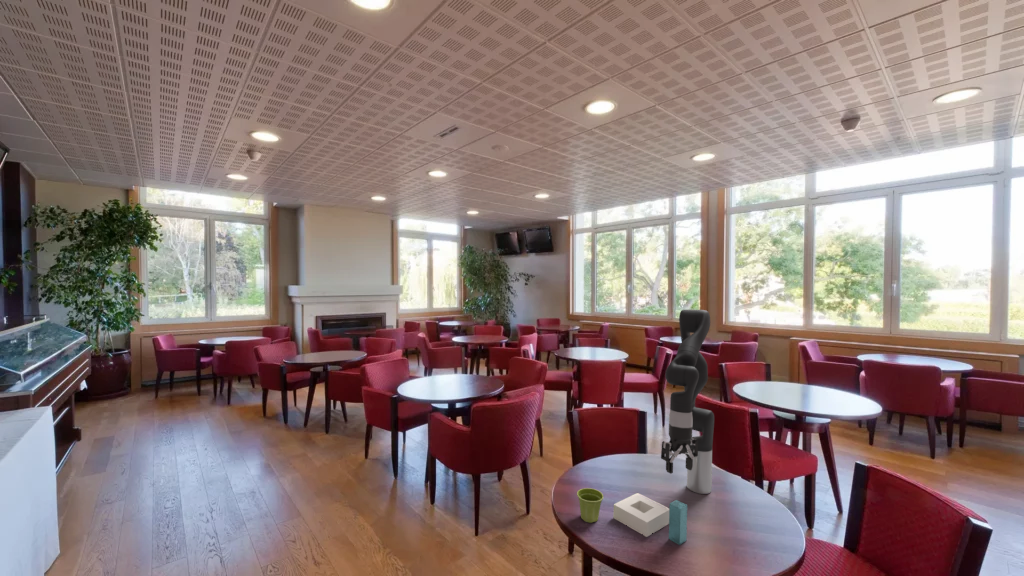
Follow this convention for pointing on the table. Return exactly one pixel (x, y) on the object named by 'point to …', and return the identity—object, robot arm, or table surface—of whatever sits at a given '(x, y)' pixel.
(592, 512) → the plant pot
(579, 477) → the table surface
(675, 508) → the bracket post
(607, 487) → the table surface
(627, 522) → the well block
